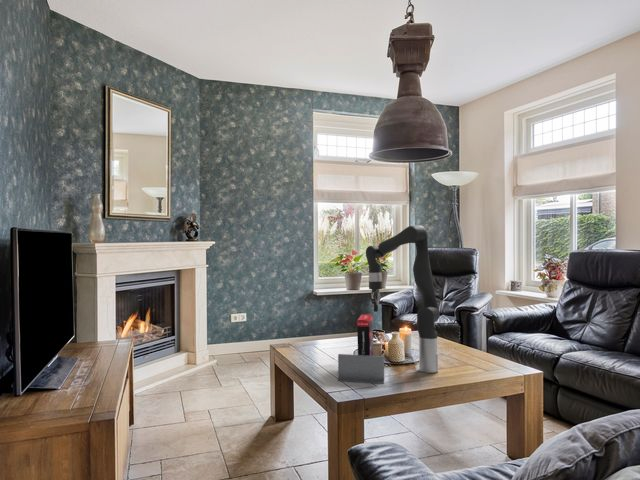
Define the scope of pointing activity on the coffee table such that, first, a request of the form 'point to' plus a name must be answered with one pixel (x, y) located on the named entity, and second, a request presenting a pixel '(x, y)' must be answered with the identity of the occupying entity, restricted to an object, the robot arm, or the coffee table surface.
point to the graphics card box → (365, 335)
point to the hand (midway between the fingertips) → (376, 311)
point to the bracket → (361, 368)
